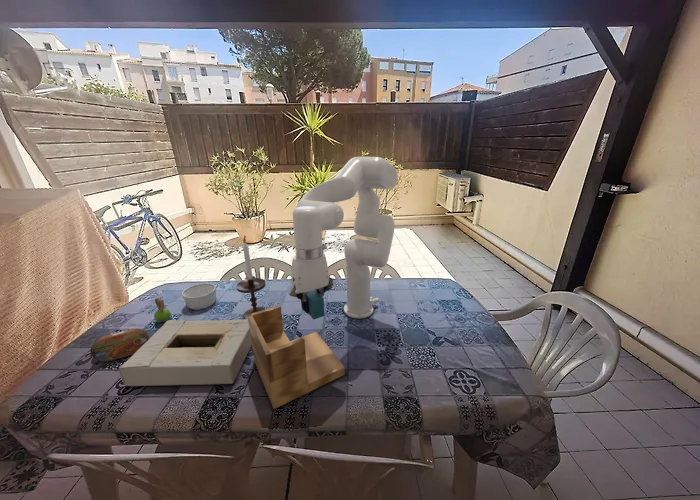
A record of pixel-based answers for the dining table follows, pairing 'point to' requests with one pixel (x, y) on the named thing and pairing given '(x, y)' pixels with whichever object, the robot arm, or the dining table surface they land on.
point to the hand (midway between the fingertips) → (312, 308)
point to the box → (190, 354)
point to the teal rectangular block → (315, 304)
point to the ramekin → (200, 296)
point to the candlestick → (250, 283)
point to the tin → (119, 344)
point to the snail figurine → (161, 311)
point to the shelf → (289, 358)
